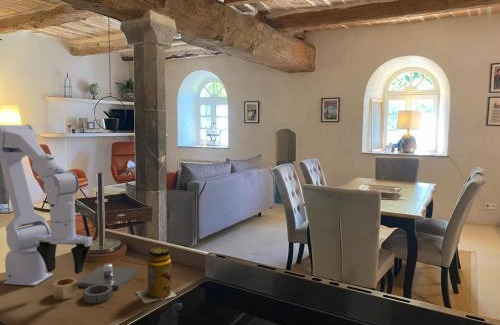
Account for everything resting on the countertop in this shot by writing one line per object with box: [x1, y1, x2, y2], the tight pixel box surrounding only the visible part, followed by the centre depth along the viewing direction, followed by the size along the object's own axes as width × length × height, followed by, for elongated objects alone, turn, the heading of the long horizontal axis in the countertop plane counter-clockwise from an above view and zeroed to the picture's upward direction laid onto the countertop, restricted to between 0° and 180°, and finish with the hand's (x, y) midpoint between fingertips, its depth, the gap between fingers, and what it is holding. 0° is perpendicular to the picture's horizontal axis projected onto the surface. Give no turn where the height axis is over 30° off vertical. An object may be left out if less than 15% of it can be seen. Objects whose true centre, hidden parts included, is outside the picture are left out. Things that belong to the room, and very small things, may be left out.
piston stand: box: [78, 263, 138, 291], centre depth 112 cm, size 12×12×4 cm
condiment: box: [135, 246, 177, 304], centre depth 102 cm, size 7×8×12 cm
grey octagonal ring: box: [82, 284, 114, 304], centre depth 101 cm, size 7×7×2 cm
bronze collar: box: [52, 277, 79, 301], centre depth 102 cm, size 6×6×3 cm
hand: (65, 271), depth 101 cm, fingers open, 7 cm apart
